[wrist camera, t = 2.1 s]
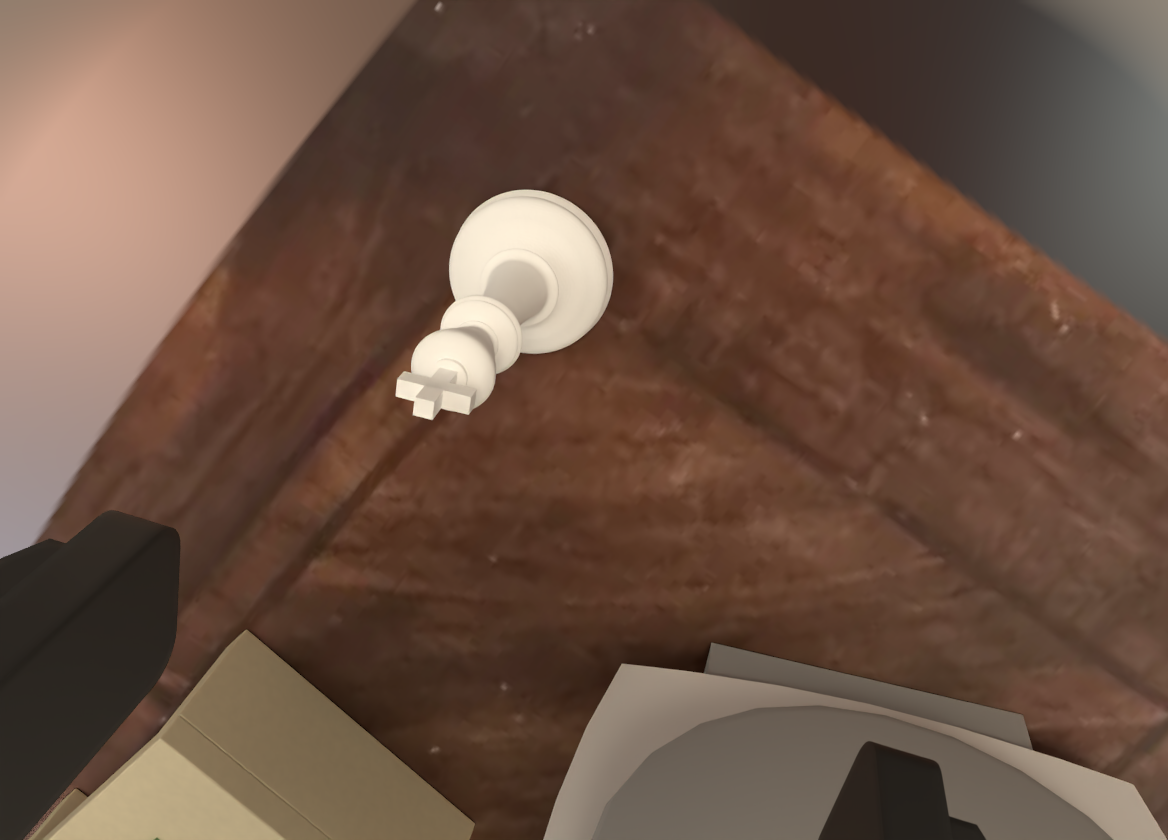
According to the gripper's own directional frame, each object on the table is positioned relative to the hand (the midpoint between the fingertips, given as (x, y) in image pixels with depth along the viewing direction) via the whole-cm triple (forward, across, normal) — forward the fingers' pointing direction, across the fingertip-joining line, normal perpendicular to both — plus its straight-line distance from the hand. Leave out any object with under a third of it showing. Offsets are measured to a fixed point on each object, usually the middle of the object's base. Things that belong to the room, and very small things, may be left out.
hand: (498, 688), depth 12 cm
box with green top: (+20, +11, +29) cm, 37 cm away
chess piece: (+20, +4, +2) cm, 21 cm away
